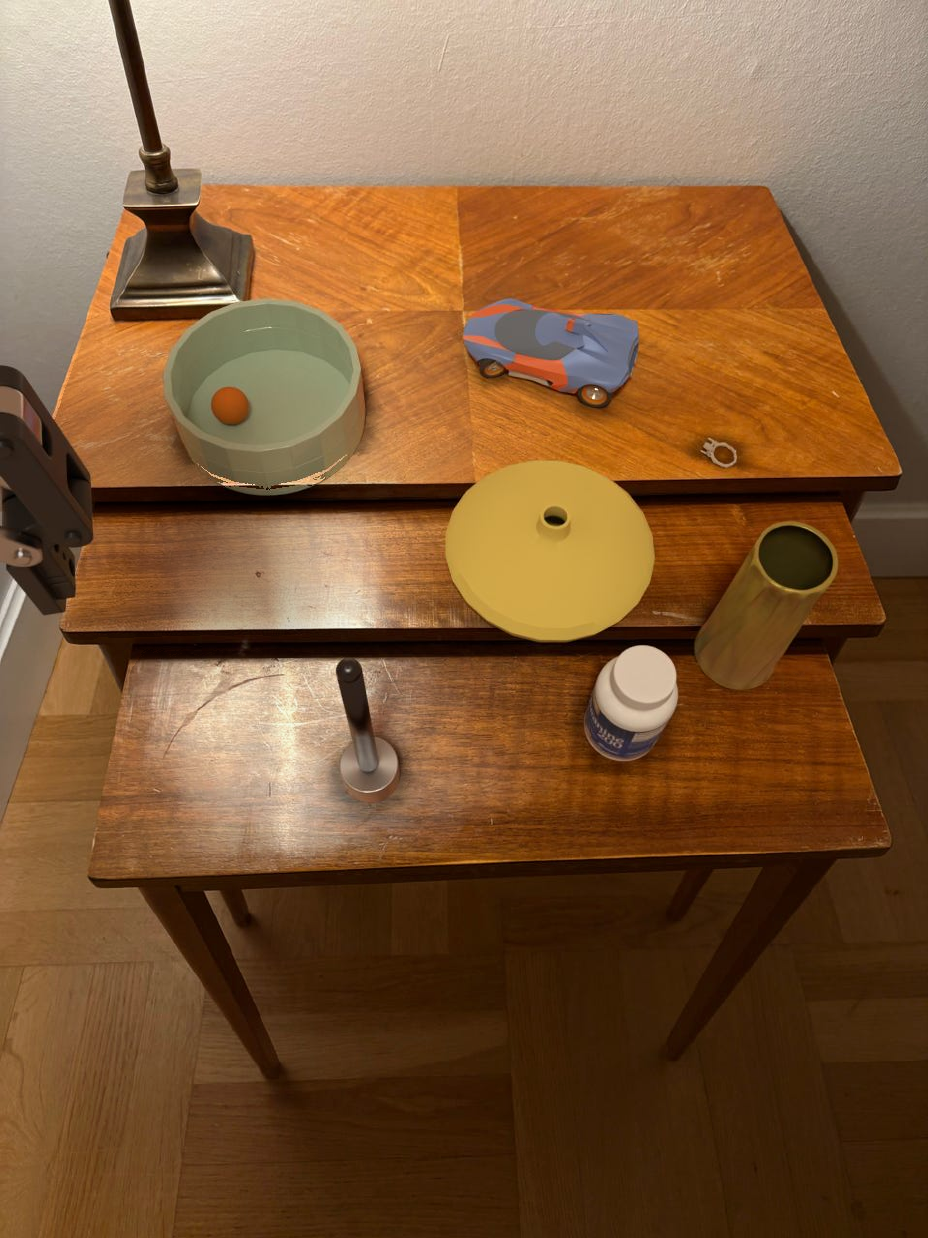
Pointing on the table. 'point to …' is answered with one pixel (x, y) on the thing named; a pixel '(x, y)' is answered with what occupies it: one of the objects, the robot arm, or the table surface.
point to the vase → (765, 605)
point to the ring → (711, 449)
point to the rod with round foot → (364, 742)
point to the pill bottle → (631, 703)
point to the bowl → (267, 393)
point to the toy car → (554, 347)
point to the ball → (229, 405)
